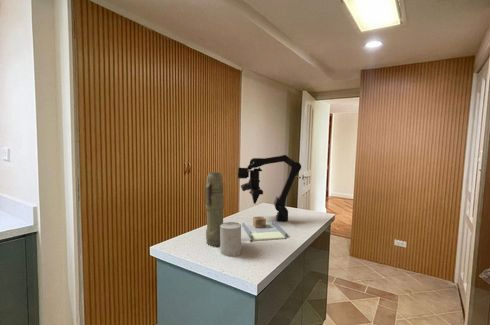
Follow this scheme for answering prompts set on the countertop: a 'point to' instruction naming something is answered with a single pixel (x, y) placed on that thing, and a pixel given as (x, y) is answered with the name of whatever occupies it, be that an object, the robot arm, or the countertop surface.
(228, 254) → the grey concrete cylinder
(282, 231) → the board
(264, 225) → the walnut block
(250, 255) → the countertop surface
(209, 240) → the thermos
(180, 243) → the countertop surface
